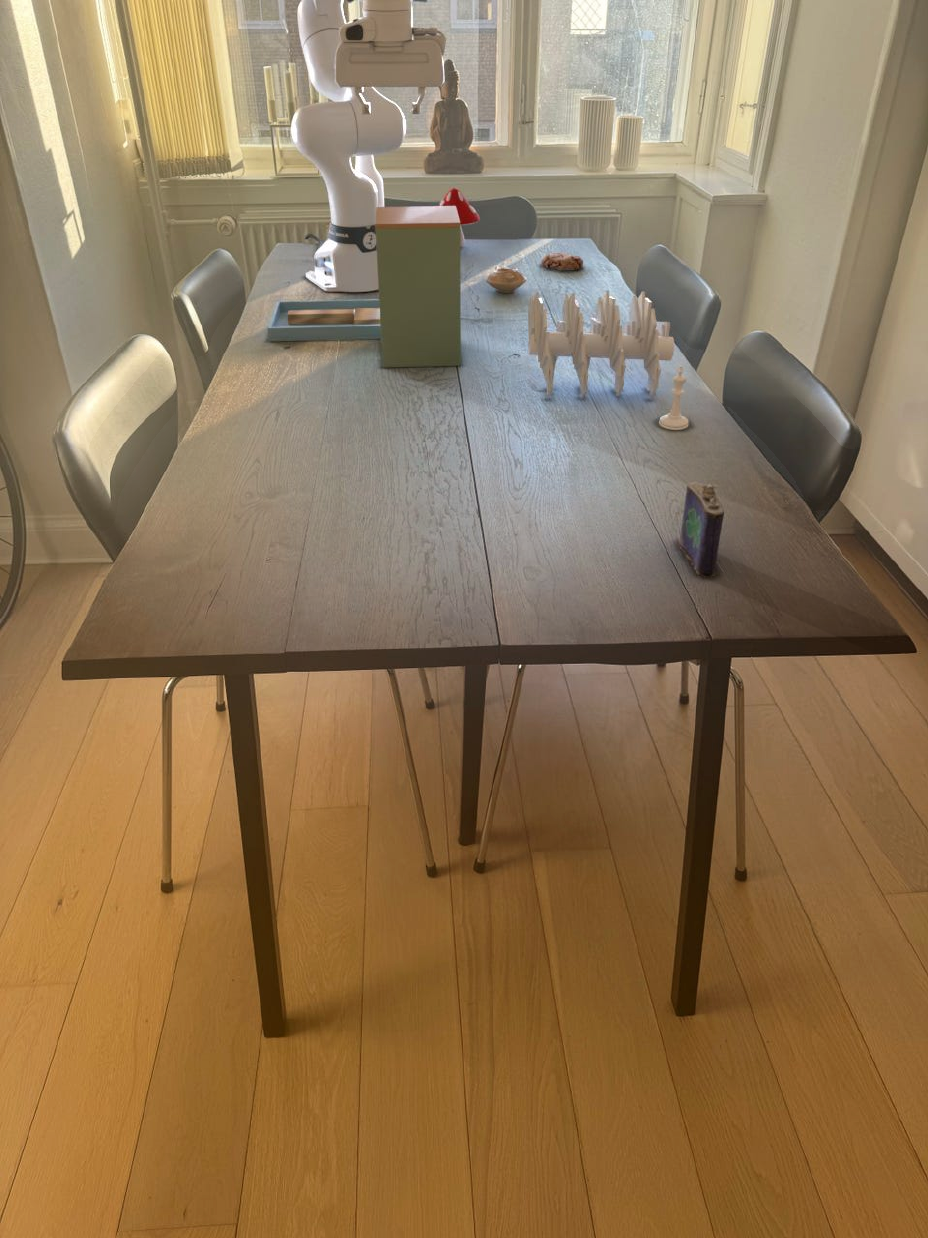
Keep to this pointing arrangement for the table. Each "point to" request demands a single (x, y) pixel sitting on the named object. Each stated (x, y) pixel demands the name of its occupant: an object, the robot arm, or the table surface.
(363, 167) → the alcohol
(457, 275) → the plinth
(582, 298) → the table surface
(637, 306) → the spiral staircase
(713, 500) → the flask
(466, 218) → the decorative mushroom
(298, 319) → the paddle
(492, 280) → the pottery oil lamp
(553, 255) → the cookie
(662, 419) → the chess piece
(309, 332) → the tray
